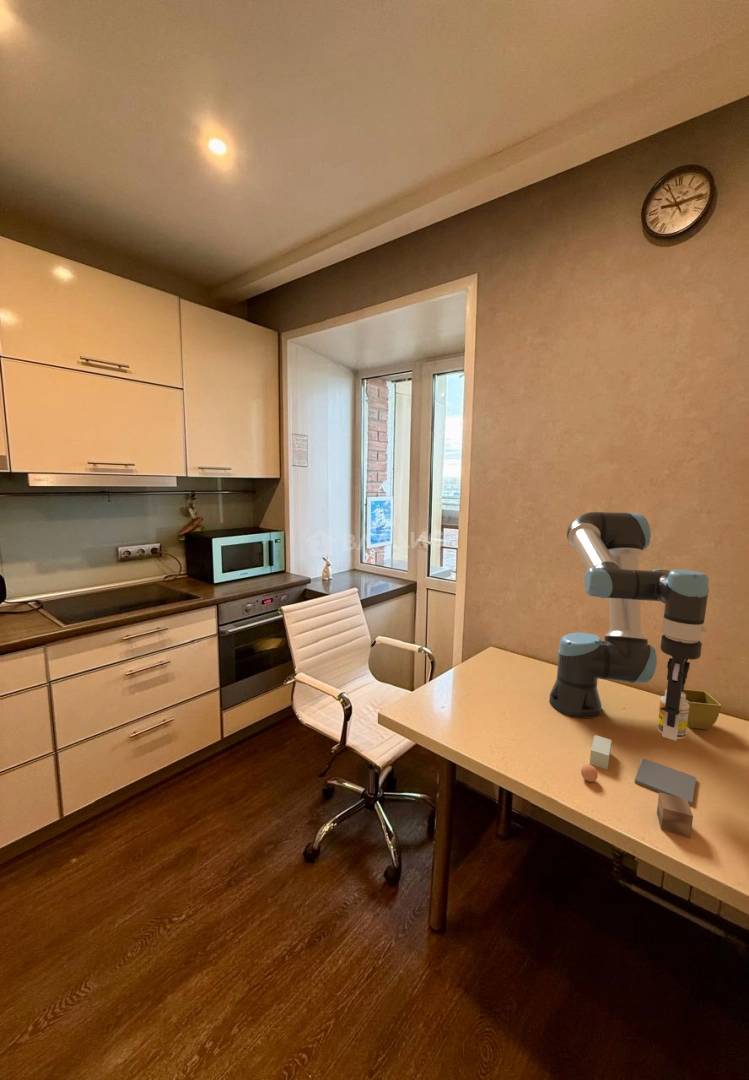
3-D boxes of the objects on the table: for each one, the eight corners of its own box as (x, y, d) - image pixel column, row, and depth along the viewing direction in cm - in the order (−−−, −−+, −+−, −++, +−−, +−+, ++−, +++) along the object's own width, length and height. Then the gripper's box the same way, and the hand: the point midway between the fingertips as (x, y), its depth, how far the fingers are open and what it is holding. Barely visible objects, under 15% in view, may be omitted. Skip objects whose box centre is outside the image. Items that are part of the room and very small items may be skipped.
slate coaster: (634, 782, 101) (634, 779, 101) (642, 760, 109) (643, 757, 109) (691, 805, 94) (692, 802, 93) (695, 780, 102) (696, 777, 102)
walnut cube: (660, 829, 87) (663, 807, 86) (656, 813, 91) (659, 792, 91) (690, 838, 85) (693, 816, 84) (684, 821, 89) (687, 799, 89)
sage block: (589, 764, 107) (590, 749, 107) (593, 748, 114) (594, 734, 114) (607, 770, 105) (608, 755, 105) (610, 754, 112) (611, 740, 111)
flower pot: (718, 734, 121) (722, 705, 120) (684, 730, 123) (688, 701, 122) (702, 718, 130) (705, 690, 129) (670, 715, 132) (673, 687, 130)
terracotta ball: (578, 780, 101) (579, 766, 101) (582, 772, 104) (583, 759, 103) (594, 787, 99) (596, 773, 98) (598, 779, 102) (600, 765, 101)
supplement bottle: (658, 724, 104) (662, 684, 102) (686, 732, 100) (691, 691, 99) (655, 733, 99) (660, 692, 98) (684, 743, 96) (689, 700, 94)
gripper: (699, 653, 87) (686, 757, 90) (704, 631, 101) (694, 722, 104) (656, 644, 92) (645, 743, 95) (667, 624, 106) (658, 711, 109)
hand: (671, 731), depth 100 cm, fingers closed on supplement bottle, 6 cm apart
